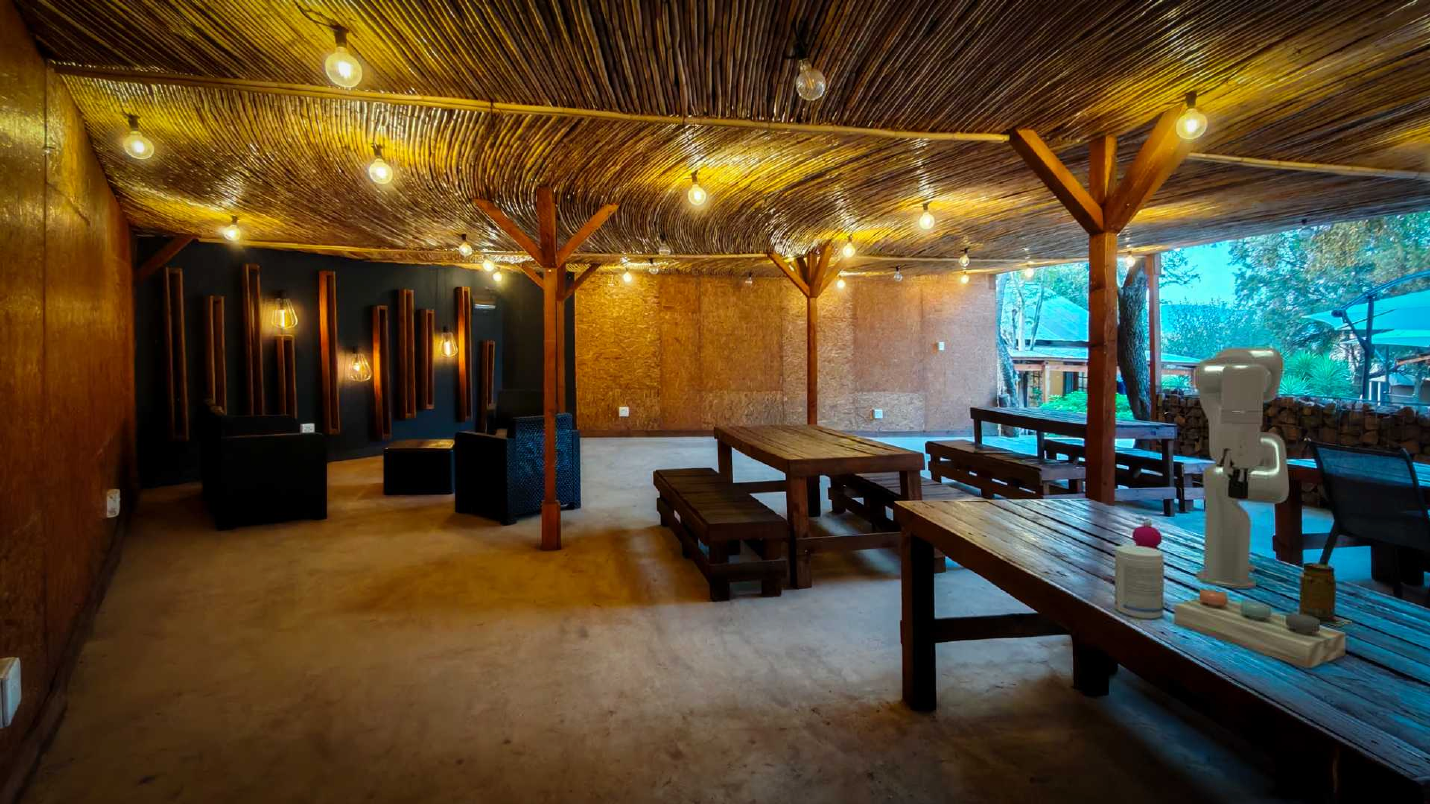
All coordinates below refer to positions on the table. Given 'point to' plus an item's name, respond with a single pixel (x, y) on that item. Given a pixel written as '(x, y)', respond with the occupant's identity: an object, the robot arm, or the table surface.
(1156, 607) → the supplement tub
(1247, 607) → the button teal
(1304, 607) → the condiment
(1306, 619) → the button charcoal
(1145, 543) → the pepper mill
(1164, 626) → the table surface
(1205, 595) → the button vermilion
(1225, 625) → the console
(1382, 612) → the table surface
